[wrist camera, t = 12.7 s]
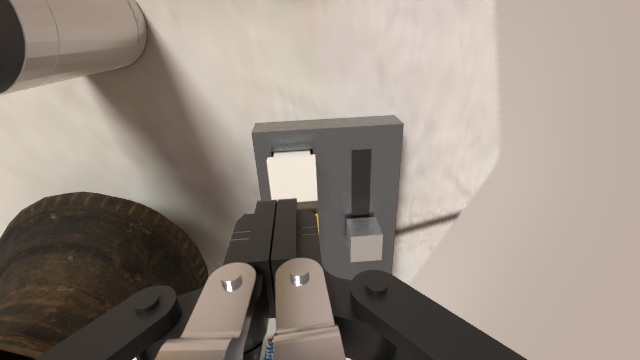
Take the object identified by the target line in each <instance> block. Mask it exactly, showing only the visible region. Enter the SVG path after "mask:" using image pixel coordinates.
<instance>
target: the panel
mask: <svg viewBox="0 0 640 360" xmlns="http://www.w3.org/2000/svg"><path fill="white" fill-rule="evenodd" d="M403 125H404V124H403V123H402V122H401V121H400V120H399V119H398V118H397V117H396V116H394V115H391V116H373V117H356V118H338V119H321V120H304V121H286V122H269V123H256V124H255V126H254V128H253V131H252V139H253V146H254V153H255V160H256V167H257V174H258V181H259V188H260V195H261V201H263V200H271V192H270V184H269V176H268V169H267V158H268V157H273V156H274V151H290V150H307V149H312V155H314V154H315V158H316V178H317V197H318V201H304V202H297V206H298V211H301V210H311V211H312V212H315V214H318V224H319V242H320V252H321V261H322V265H323V267H324V268H325V270H326V271H327V272H328V273H330V274H331V275H333V276H335V277H338V278H342V279H347V280H352V279H353V278H354V277H355V276H356V275H357V274H359V273H360V272H363V271H366V270H381V271H385V272H387V273H389V274H392V262H393V250H394V237H395V225H396V212H397V200H398V187H399V175H400V163H401V150H402V138H403ZM367 217H376V219H377V221H378V224H379V226H380V228H381V231H382V233H383V244H382V260H375V261H361V262H351V261H350V257H349V252H348V248H347V244H346V219H353V218H367Z"/></svg>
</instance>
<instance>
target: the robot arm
mask: <svg viewBox="0 0 640 360" xmlns="http://www.w3.org/2000/svg"><path fill="white" fill-rule="evenodd" d="M146 41H147V30H146V23H145V20H144V17H143V14H142V12H141V10H140V8H139V6H138V4H137V3H136V1H135V0H0V95H2V94H7V93H11V92H16V91H20V90H25V89H29V88H33V87H37V86H42V85H46V84H51V83H55V82H60V81H64V80H68V79H73V78H77V77H82V76H86V75H91V74H95V73H100V72H105V71H110V70H114V69H118V68H122V67H126V66H129V65H130V64H132V63H134V62H135V61H136V60H137V59H138V58H139V57H140V56H141V54H142V52H143V51H144V48H145V45H146ZM268 318H276V333H275V334H274V360H346V358H350V359H351V360H527V359H525V358H524V357H522V356H521V355H519V354H517V353H516V352H514V351H513V350H511V349H510V348H508V347H506V346H504V345H503V344H502V343H500V342H498V341H497V340H495V339H494V338H492V337H490V336H489V335H487V334H486V333H484V332H482V331H481V330H479V329H477V328H476V327H474V326H473V325H471V324H470V323H468V322H466V321H465V320H463V319H462V318H460V317H458V316H457V315H455V314H453V313H452V312H450V311H449V310H447V309H446V308H444V307H442V306H441V305H439V304H438V303H436V302H434V301H433V300H431V299H430V298H428V297H426V296H425V295H423V294H422V293H420V292H418V291H417V290H415V289H414V288H412V287H410V286H409V285H407V284H406V283H404V282H402V281H401V280H399V279H398V278H396V277H394V276H393V275H391V274H389V273H387V272H385V271H381V270H366V271H363V272H360V273H359V274H357V275H356V276H355V277H354V278H353V279H352V280H347V279H342V278H338V277H335V276H333V275H331V274H330V273H328V272H327V271H326V270H325V268H324V267H323V265H322V261H321V252H320V242H319V232H318V222H317V216H316V215H315V214H314V213H313V212H312V211H311V210H301V211H298V206H297V198H292V199H278V202H277V200H263V201H257V205H256V210H255V214H244V215H243V216H242V217H241V218H240V219H239V220H238V221H237V222H236V226H235V229H234V233H233V235H232V238H231V241H230V245H229V248H228V251H227V254H226V257H225V260H224V263H223V266H222V267H220V268H218V269H217V270H215V271H214V272H213V273H212V274H211V275H210V276H209V278H208V280H207V282H206V284H205V286H204V287H202V288H200V289H198V290H195V291H192V292H188V293H185V294H182V295H179V296H176V293H175V291H174V290H173V289H172V288H171V287H169V286H164V285H157V286H152V287H148V288H145V289H143V290H141V291H139V292H137V293H135V294H134V295H132V296H131V297H129V298H128V299H126V300H125V301H123V302H121V303H120V304H118V305H117V306H115V307H114V308H112V309H111V310H109V311H108V312H106V313H105V314H103V315H102V316H100V317H99V318H97V319H95V320H94V321H92V322H91V323H89V324H88V325H86V326H85V327H83V328H82V329H80V330H79V331H77V332H76V333H74V334H72V335H71V336H69V337H68V338H66V339H65V340H63V341H62V342H60V343H59V344H57V345H56V346H54V347H53V348H51V349H50V350H48V351H46V352H45V353H43V354H42V355H40V356H39V357H37V358H36V359H34V360H132V359H134V358H135V357H136V358H137V360H264V356H265V350H266V345H267V335H266V332H267V326H268ZM345 357H346V358H345Z"/></svg>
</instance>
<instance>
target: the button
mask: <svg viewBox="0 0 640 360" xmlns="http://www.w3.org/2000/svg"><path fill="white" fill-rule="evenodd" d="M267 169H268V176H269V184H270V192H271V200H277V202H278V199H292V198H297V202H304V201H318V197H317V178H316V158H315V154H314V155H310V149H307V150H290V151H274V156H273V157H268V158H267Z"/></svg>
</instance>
